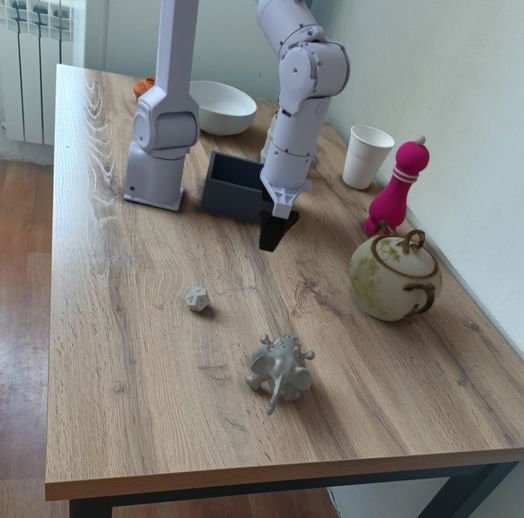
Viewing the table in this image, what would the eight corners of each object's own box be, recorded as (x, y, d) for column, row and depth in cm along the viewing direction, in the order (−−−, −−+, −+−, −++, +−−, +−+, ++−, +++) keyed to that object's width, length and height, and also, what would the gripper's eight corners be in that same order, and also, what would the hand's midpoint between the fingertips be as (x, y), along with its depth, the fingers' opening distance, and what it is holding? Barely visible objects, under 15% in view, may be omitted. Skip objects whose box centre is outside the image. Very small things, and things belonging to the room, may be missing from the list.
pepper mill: (394, 246, 105) (443, 149, 91) (359, 234, 105) (403, 136, 91) (395, 228, 110) (441, 134, 97) (362, 217, 110) (403, 121, 96)
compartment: (199, 211, 97) (205, 179, 92) (206, 180, 105) (211, 150, 101) (278, 229, 99) (287, 199, 95) (278, 198, 107) (287, 169, 103)
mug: (289, 159, 121) (305, 106, 113) (298, 186, 113) (316, 131, 105) (256, 153, 119) (270, 98, 111) (263, 180, 111) (278, 123, 103)
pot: (126, 107, 118) (130, 74, 115) (137, 104, 125) (141, 73, 122) (161, 117, 118) (166, 84, 115) (170, 114, 125) (175, 83, 122)
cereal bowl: (164, 126, 117) (168, 93, 112) (193, 104, 129) (198, 73, 125) (237, 153, 116) (244, 121, 112) (259, 129, 129) (266, 99, 124)
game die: (213, 309, 79) (216, 293, 77) (194, 318, 76) (197, 302, 74) (197, 295, 80) (200, 280, 78) (178, 304, 78) (180, 288, 76)
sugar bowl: (444, 346, 86) (494, 272, 76) (363, 348, 81) (405, 269, 71) (393, 269, 99) (430, 197, 89) (320, 266, 94) (350, 189, 83)
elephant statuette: (299, 362, 75) (316, 323, 70) (316, 433, 67) (337, 394, 62) (235, 358, 73) (248, 316, 68) (245, 431, 65) (260, 390, 59)
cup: (327, 180, 118) (344, 132, 111) (342, 167, 125) (360, 120, 118) (367, 200, 116) (387, 152, 109) (381, 185, 123) (401, 139, 116)
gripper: (326, 179, 64) (294, 270, 73) (319, 130, 74) (291, 214, 84) (269, 165, 63) (243, 259, 72) (270, 117, 73) (247, 204, 83)
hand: (266, 234), depth 78 cm, fingers open, 7 cm apart
